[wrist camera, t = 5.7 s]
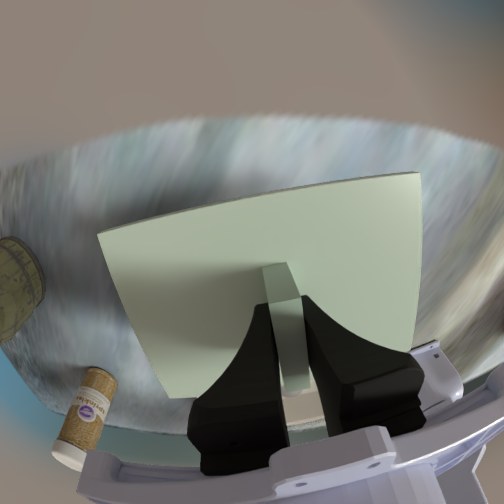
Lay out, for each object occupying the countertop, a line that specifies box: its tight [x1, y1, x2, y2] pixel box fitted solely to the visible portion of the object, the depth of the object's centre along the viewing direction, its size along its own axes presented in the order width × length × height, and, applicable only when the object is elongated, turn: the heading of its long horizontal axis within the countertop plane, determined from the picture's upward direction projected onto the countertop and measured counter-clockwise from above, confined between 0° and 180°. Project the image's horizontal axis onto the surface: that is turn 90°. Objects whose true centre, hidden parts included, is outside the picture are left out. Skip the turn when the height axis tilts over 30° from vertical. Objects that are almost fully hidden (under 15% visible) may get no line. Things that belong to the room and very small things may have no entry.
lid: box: [97, 171, 422, 398], centre depth 13 cm, size 17×12×5 cm
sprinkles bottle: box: [51, 368, 118, 472], centre depth 22 cm, size 5×5×14 cm
